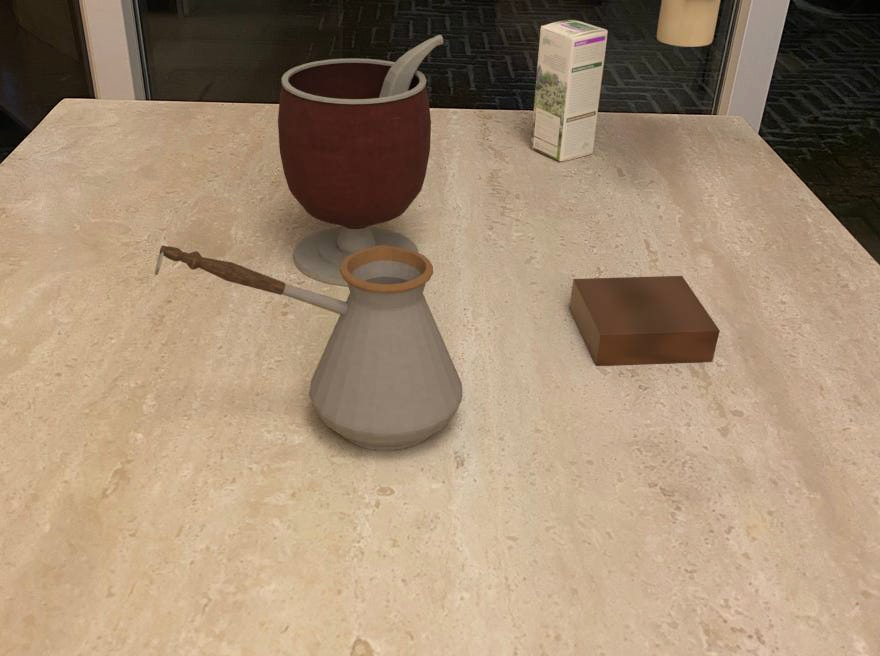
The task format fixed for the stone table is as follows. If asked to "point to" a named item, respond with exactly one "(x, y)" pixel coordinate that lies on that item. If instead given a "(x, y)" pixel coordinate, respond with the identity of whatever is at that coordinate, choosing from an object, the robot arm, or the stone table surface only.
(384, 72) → the mate gourd
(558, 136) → the syrup box
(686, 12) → the candle
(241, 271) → the coffee pot
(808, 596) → the stone table surface
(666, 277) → the walnut block
